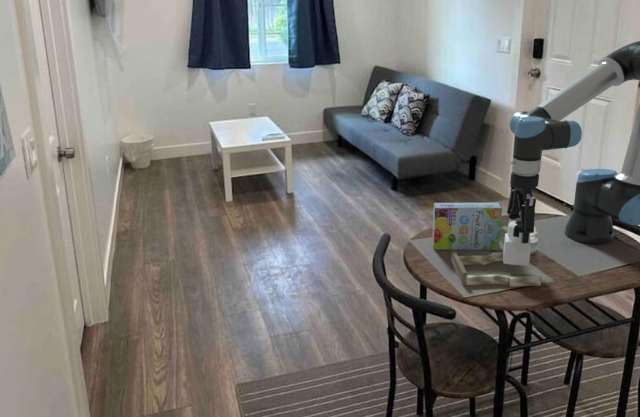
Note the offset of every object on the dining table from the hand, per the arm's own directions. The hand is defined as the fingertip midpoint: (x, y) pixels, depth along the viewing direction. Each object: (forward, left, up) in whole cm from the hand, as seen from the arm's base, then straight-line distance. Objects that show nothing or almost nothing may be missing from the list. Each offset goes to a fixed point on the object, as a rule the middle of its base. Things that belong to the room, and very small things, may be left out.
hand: (517, 245), depth 168 cm
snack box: (+10, -19, -9) cm, 24 cm away
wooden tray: (+7, 0, -9) cm, 12 cm away
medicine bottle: (0, 0, -5) cm, 5 cm away
